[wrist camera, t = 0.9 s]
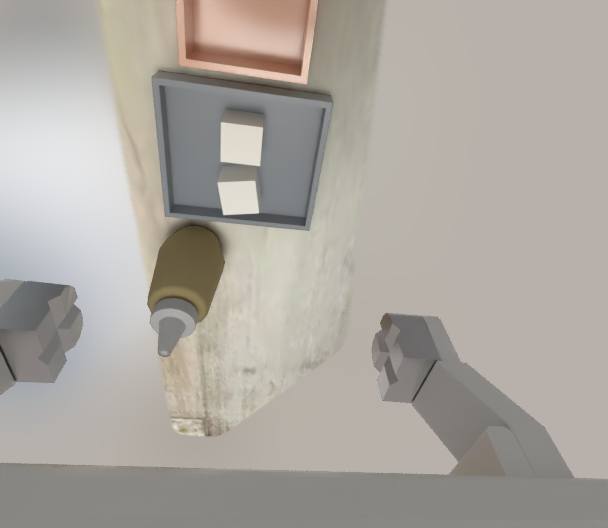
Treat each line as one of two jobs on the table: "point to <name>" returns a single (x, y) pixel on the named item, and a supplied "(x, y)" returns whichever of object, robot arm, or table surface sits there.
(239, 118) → the white cube
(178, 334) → the squeeze bottle
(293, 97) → the tray
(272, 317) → the table surface
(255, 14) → the bin
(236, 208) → the block
